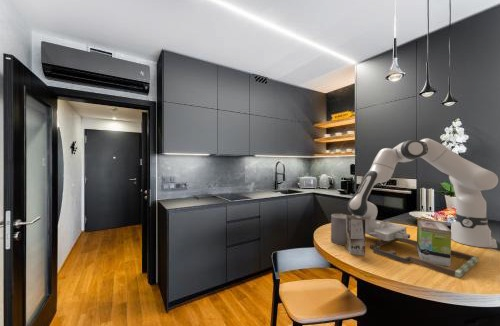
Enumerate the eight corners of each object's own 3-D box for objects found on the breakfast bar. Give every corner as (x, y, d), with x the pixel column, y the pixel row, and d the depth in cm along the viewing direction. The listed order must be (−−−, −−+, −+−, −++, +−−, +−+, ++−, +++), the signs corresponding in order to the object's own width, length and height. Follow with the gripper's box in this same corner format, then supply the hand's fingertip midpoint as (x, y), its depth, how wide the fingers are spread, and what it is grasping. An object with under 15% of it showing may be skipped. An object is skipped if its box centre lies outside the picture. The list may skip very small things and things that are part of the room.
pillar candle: (338, 237, 121) (338, 210, 121) (354, 242, 113) (355, 213, 113) (327, 240, 116) (327, 212, 116) (343, 246, 108) (344, 216, 108)
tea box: (451, 267, 87) (452, 230, 87) (419, 261, 93) (420, 226, 92) (443, 254, 100) (444, 222, 100) (416, 249, 105) (416, 218, 105)
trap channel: (393, 238, 120) (393, 235, 120) (477, 261, 92) (477, 257, 92) (365, 249, 104) (365, 245, 104) (456, 281, 77) (456, 275, 77)
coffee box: (365, 255, 98) (365, 219, 98) (350, 254, 99) (350, 219, 99) (359, 248, 107) (359, 214, 106) (345, 246, 108) (345, 214, 108)
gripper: (367, 226, 109) (398, 234, 97) (387, 220, 120) (417, 227, 108) (367, 238, 109) (398, 248, 97) (387, 232, 120) (417, 239, 108)
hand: (408, 237), depth 103 cm, fingers closed
